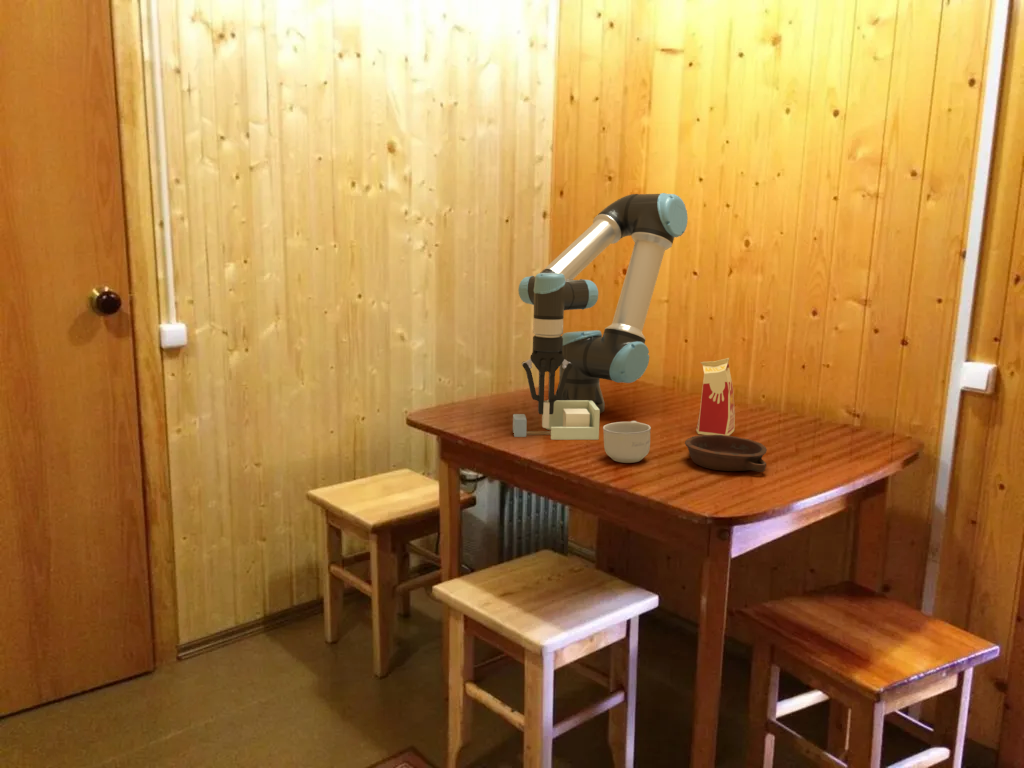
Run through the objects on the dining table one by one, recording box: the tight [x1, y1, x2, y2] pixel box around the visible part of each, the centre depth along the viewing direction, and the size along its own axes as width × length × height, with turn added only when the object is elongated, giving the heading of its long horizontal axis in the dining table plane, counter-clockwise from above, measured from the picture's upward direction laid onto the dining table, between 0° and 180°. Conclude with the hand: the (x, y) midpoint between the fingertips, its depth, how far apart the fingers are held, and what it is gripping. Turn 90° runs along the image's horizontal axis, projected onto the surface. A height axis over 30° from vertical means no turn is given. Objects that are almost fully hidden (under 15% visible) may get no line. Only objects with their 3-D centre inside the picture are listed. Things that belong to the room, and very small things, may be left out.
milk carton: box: [695, 357, 736, 436], centre depth 211 cm, size 9×9×20 cm
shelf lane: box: [545, 399, 601, 441], centre depth 207 cm, size 12×11×8 cm
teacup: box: [602, 420, 652, 464], centre depth 187 cm, size 14×11×8 cm
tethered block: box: [512, 409, 590, 438], centre depth 207 cm, size 19×6×6 cm, turn 94°
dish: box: [684, 434, 768, 473], centre depth 184 cm, size 18×22×5 cm
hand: (545, 426), depth 207 cm, fingers closed
